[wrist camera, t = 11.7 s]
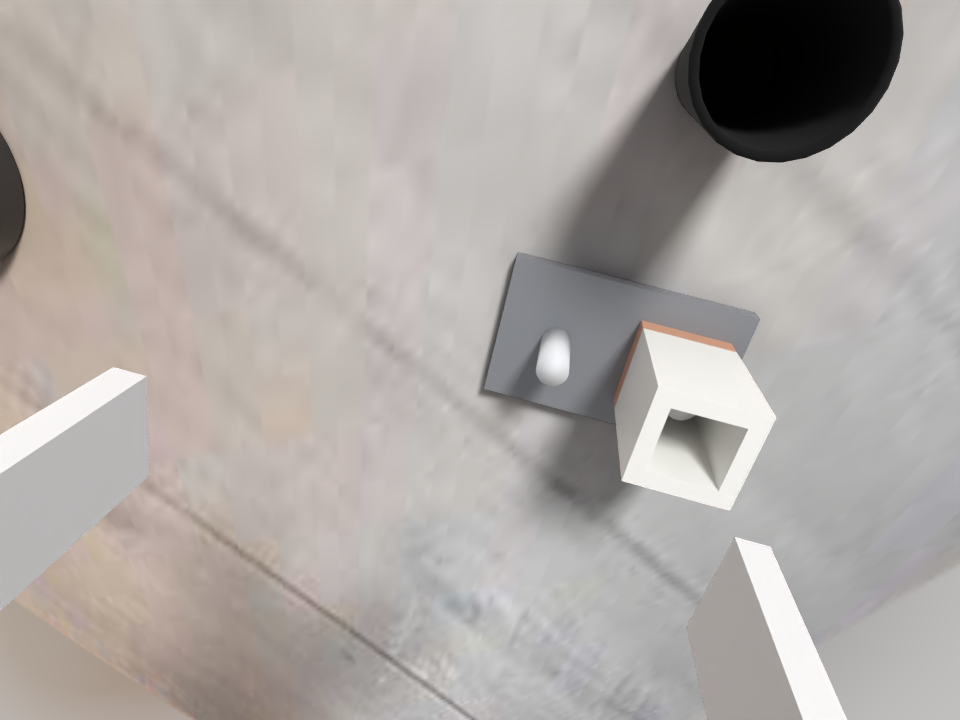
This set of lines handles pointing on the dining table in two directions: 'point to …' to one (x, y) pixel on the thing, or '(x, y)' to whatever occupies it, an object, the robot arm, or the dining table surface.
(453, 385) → the dining table surface
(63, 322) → the dining table surface
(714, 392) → the sleeve
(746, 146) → the cup
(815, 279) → the dining table surface
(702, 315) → the grey board with pegs
